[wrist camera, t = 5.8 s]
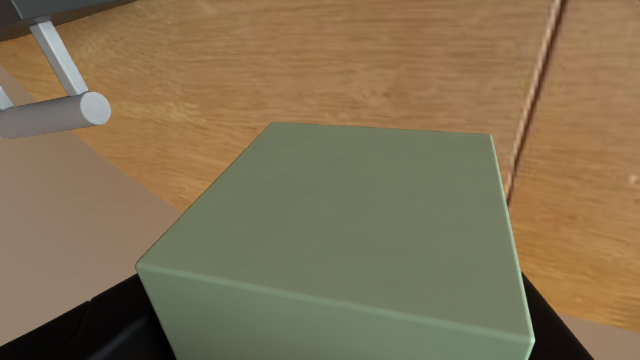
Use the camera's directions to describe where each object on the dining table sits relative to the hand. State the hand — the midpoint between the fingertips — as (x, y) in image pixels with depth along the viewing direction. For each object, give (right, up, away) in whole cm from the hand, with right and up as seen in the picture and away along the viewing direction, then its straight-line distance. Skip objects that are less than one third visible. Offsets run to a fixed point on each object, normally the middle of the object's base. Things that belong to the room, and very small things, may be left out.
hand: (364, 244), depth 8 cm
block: (0, +1, +1) cm, 1 cm away
